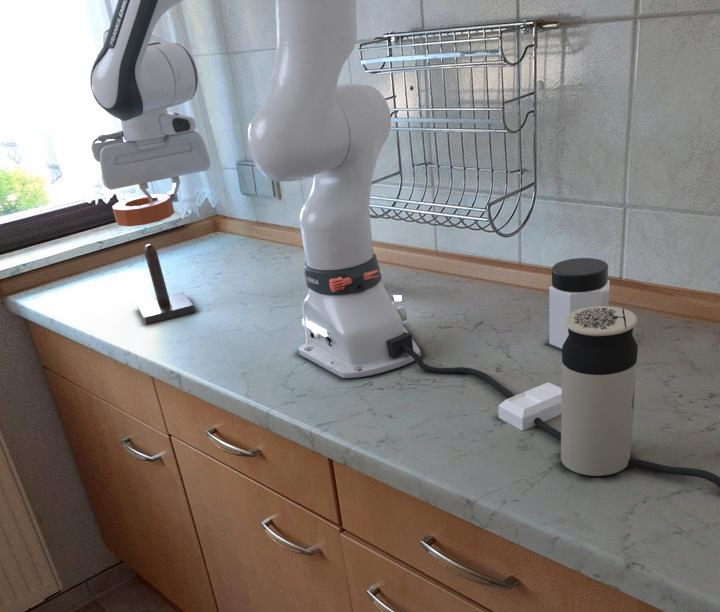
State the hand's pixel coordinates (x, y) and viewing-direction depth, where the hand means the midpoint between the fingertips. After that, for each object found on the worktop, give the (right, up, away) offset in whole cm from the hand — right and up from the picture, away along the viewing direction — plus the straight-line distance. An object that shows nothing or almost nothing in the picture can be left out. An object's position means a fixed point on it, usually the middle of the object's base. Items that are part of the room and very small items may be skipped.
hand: (164, 204), depth 151 cm
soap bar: (+61, -44, -45) cm, 88 cm away
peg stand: (-2, -18, +10) cm, 21 cm away
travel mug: (+66, -51, -57) cm, 100 cm away
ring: (-4, -3, 0) cm, 5 cm away
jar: (+72, -31, -27) cm, 83 cm away
